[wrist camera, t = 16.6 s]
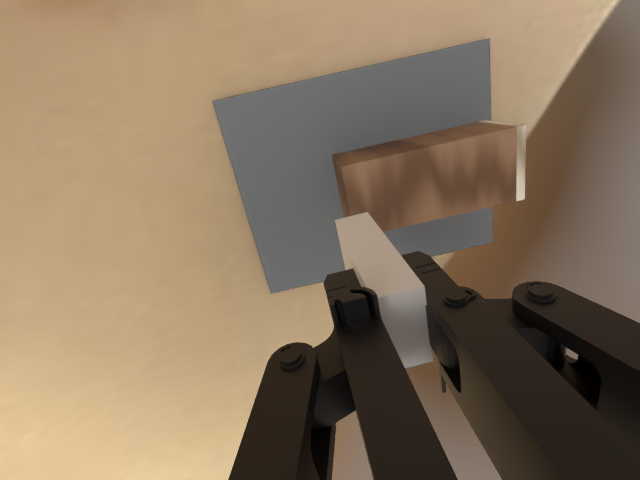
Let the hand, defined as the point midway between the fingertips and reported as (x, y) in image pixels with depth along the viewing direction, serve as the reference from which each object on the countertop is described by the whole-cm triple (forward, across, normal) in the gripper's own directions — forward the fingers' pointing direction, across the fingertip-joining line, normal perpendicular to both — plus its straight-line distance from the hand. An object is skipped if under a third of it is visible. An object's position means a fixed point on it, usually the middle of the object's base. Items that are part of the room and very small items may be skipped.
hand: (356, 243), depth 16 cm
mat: (+13, +4, -1) cm, 14 cm away
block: (+10, +1, -1) cm, 10 cm away
